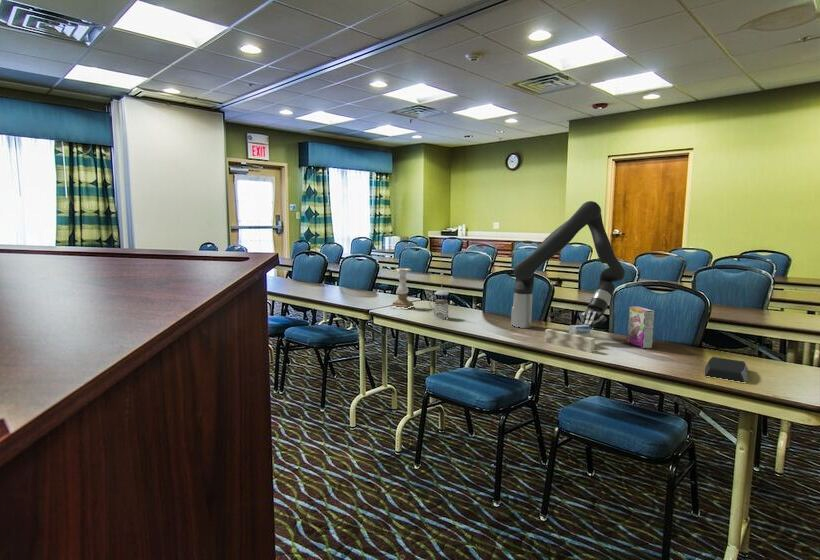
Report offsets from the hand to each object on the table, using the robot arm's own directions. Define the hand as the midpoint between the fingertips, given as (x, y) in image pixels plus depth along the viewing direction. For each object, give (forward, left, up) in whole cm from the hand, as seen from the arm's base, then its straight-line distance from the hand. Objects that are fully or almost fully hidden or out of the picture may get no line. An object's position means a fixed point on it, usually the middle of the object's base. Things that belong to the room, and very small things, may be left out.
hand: (584, 332), depth 209 cm
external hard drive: (+54, +1, -6) cm, 55 cm away
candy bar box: (+17, +16, -5) cm, 24 cm away
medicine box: (0, -5, -5) cm, 7 cm away
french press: (-79, -13, -5) cm, 80 cm away
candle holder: (-116, -9, -5) cm, 117 cm away
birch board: (-1, -11, -5) cm, 12 cm away
